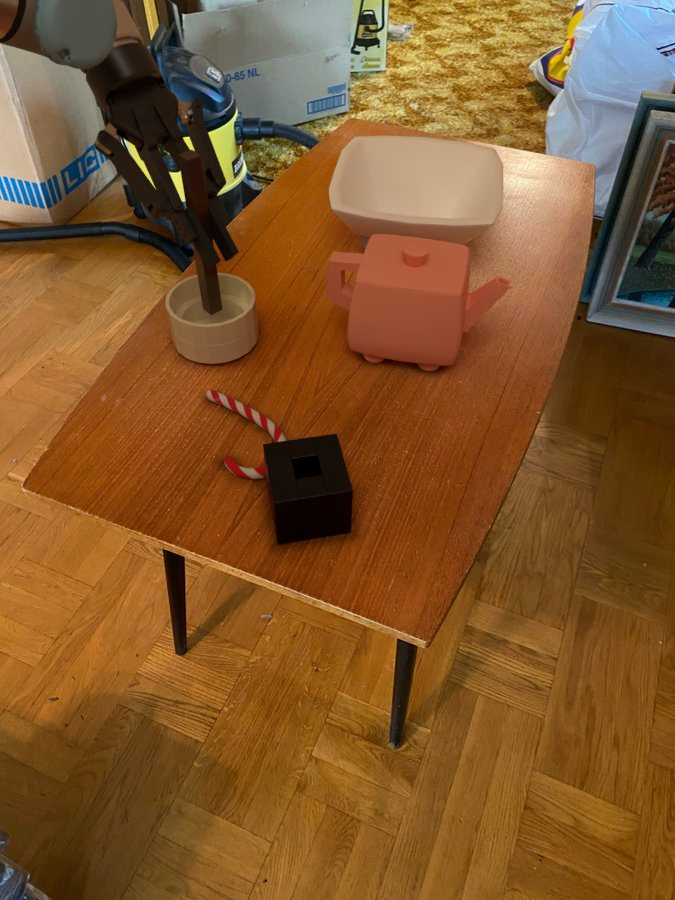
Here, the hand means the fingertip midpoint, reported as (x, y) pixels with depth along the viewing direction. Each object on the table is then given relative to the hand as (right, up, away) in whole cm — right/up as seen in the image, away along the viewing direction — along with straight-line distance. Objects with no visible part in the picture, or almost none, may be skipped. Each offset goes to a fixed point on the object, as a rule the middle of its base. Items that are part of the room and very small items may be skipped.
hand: (223, 260), depth 81 cm
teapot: (+22, -8, +12) cm, 27 cm away
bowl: (+24, +11, +29) cm, 39 cm away
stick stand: (+10, -28, -6) cm, 30 cm away
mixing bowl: (-3, -7, +12) cm, 14 cm away
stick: (-3, -4, +9) cm, 10 cm away
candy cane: (+2, -20, +1) cm, 20 cm away
